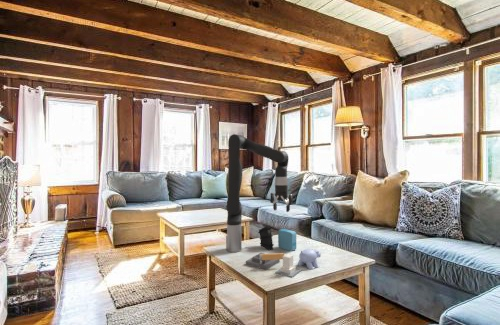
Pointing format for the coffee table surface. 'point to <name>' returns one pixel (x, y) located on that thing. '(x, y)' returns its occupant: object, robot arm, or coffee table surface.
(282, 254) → the orange rod with knob
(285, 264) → the plug
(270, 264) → the socket block
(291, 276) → the mat
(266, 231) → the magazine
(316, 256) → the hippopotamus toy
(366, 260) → the coffee table surface
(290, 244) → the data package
